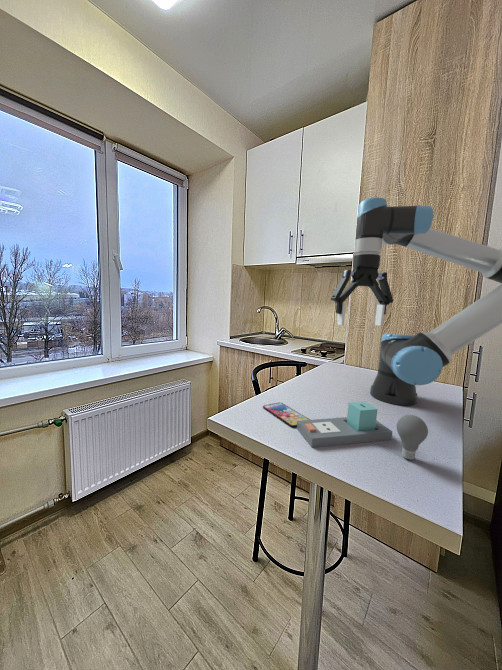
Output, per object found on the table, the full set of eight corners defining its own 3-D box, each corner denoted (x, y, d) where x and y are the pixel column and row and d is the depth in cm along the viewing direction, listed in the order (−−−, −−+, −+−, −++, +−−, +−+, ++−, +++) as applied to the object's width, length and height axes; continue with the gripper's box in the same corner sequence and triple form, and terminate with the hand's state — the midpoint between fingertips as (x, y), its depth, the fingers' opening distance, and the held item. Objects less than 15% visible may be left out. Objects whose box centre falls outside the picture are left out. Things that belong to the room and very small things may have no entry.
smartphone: (280, 401, 89) (312, 420, 76) (280, 404, 89) (312, 423, 76) (261, 405, 85) (292, 426, 72) (261, 408, 85) (292, 429, 72)
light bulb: (411, 468, 57) (417, 424, 56) (387, 453, 63) (392, 412, 61) (429, 462, 60) (436, 420, 58) (404, 448, 65) (410, 408, 63)
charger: (362, 425, 75) (364, 401, 74) (374, 434, 70) (377, 408, 69) (346, 426, 74) (348, 402, 72) (357, 436, 69) (360, 410, 68)
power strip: (368, 422, 77) (369, 413, 77) (391, 439, 69) (392, 429, 68) (296, 428, 72) (297, 418, 72) (311, 447, 64) (312, 436, 63)
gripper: (393, 259, 88) (385, 324, 91) (323, 253, 82) (317, 323, 86) (411, 256, 81) (402, 326, 84) (336, 250, 75) (329, 326, 78)
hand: (359, 325), depth 85 cm, fingers open, 13 cm apart
